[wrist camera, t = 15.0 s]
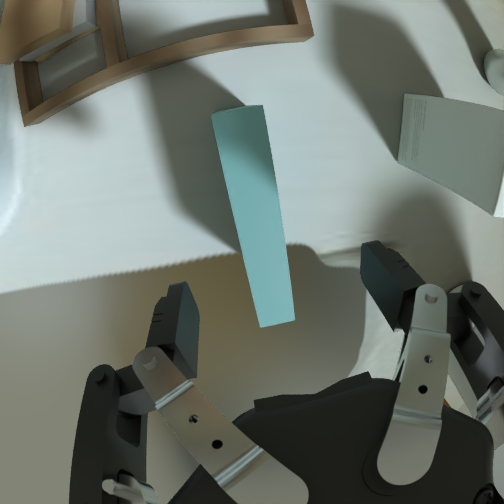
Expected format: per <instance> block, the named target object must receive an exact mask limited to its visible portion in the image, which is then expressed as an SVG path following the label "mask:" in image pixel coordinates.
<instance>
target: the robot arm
mask: <svg viewBox="0 0 504 504" xmlns="http://www.w3.org/2000/svg"><path fill="white" fill-rule="evenodd" d="M360 274H361V279H362V282H363V284H364V285H365V287H366V288H367V290H368V291H369V293H370V295H371V296H372V298H373V299H374V301H375V302H376V304H377V306H378V307H379V309H380V310H381V312H382V314H383V315H384V317H385V319H386V320H387V322H388V323H389V325H390V327H391V328H392V330H393V332H396V331H399V330H402V329H403V331H404V333H405V334H404V337H403V341H402V345H401V350H400V354H399V358H398V362H397V366H396V370H395V373H394V376H393V379H392V380H390V379H384V378H371V376H370V373H369V371H367V372H364V373H361V374H358V375H355V376H352V377H349V378H346V379H343V380H340V381H339V382H337V383H335V384H333V385H331V386H330V387H328V388H326V389H324V390H322V391H320V392H318V393H316V394H305V395H278V396H273V397H268V398H262V399H257V400H254V406H255V408H252V409H250V410H248V411H247V412H245V413H243V414H241V415H240V416H238V417H237V418H236V419H235V420H234V421H233V422H230V421H229V420H228V419H227V418H226V417H225V416H224V415H223V414H222V413H221V412H220V411H219V410H218V409H217V408H216V407H215V406H214V405H213V404H212V403H211V402H210V401H209V400H208V399H207V398H206V397H205V396H204V395H203V394H202V393H201V392H200V391H199V390H198V389H197V388H196V386H195V385H194V384H193V383H192V382H191V381H188V379H190V378H197V361H198V339H199V322H200V317H199V311H198V307H197V305H196V302H195V300H194V298H193V295H192V293H191V290H190V288H189V286H188V284H187V282H186V281H185V282H180V283H175V284H170V285H169V288H168V293H167V296H166V297H161V299H160V300H159V301H158V303H157V304H156V306H155V309H154V313H153V317H152V323H151V325H150V330H149V334H148V338H147V343H146V347H145V349H143V350H141V351H140V352H139V353H138V354H137V355H136V356H135V358H134V360H133V363H132V365H130V366H127V367H124V368H122V369H119V370H116V371H115V370H114V369H113V368H112V367H111V366H110V365H106V364H103V365H99V366H97V367H96V368H94V369H93V370H92V371H91V372H90V374H89V376H88V378H87V382H86V387H85V390H84V395H83V400H82V404H81V409H80V414H79V419H78V425H77V430H76V437H75V443H74V450H73V458H72V467H71V477H70V492H69V504H160V503H159V501H158V496H157V493H156V491H155V489H154V488H153V487H152V486H151V485H150V484H148V483H146V443H147V442H146V441H147V418H148V412H151V411H154V410H158V411H159V413H160V414H161V416H162V417H163V418H164V420H165V421H166V423H167V424H168V425H169V426H170V428H171V429H172V430H173V432H174V433H175V434H176V435H177V437H178V438H179V439H180V441H181V442H182V443H183V444H184V445H185V447H186V448H187V449H188V450H189V451H190V453H191V454H192V455H193V456H194V457H195V458H196V459H197V461H198V462H199V463H200V465H199V466H198V467H197V468H196V470H195V471H194V472H193V474H192V475H191V476H190V477H189V479H188V480H187V481H186V482H185V483H184V485H183V486H182V487H181V488H180V490H179V491H178V492H177V493H176V494H175V495H174V497H173V498H172V499H171V500H170V501H169V502H168V504H504V499H503V498H502V497H501V496H500V494H499V493H498V491H497V490H496V488H495V486H494V482H493V456H494V450H495V449H496V448H498V447H499V446H500V445H502V444H503V443H504V310H503V309H502V308H501V306H500V305H499V304H498V303H497V301H496V300H495V299H494V298H493V296H492V295H491V294H490V293H489V292H488V291H487V289H486V288H485V287H484V286H483V285H481V284H479V283H477V282H473V281H470V282H466V283H465V284H463V286H462V289H461V292H457V293H445V291H444V290H443V289H442V288H440V287H439V286H437V285H434V284H426V283H425V282H424V281H423V279H422V278H421V277H420V276H419V275H418V274H417V273H416V271H415V270H414V269H413V268H412V267H411V266H410V265H409V264H408V263H407V262H406V261H405V259H404V258H403V257H402V256H401V255H400V254H399V253H398V252H396V251H394V250H392V249H390V248H388V249H386V248H385V247H384V246H383V245H382V243H381V242H380V241H378V240H375V241H371V242H366V243H363V244H362V246H361V265H360ZM475 327H476V328H477V329H478V331H479V332H480V334H481V335H482V337H483V338H484V341H485V347H484V346H483V344H482V342H481V341H480V339H479V338H478V336H477V335H476V333H475V332H474V329H475ZM450 349H451V351H452V352H453V354H454V356H455V358H456V359H457V361H458V363H459V365H460V367H461V369H462V370H463V372H464V374H465V376H466V378H467V380H468V382H469V384H470V386H471V388H472V390H473V392H474V394H475V396H476V398H477V400H478V403H477V407H476V411H477V414H476V416H475V419H474V418H471V417H469V416H467V415H465V414H463V413H461V412H459V411H456V410H454V409H452V408H450V407H448V406H446V405H444V404H443V401H444V395H445V389H446V382H447V374H448V365H449V355H450Z"/></svg>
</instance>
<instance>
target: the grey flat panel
mask: <svg viewBox="0 0 504 504" xmlns="http://www.w3.org/2000/svg"><path fill="white" fill-rule="evenodd" d="M96 26H97V25H96V10H95V0H75V5H74V14H73V26H72V33H69V34H67V35H65V36H62V37H60V38H58V39H56V40H54V41H51V42H49V43H47V44H45V45H43V46H41V47H39V48H37V49H36V50H34V51H32V52H30V53H28V54H26V55H25V56H23V57H21V58H19V61H29V62H33V61H34V60H36V59H37V58H39V57H40V56H42V55H43V54H45V53H47V52H48V51H50V50H51V49H53V48H55V47H57V46H58V45H60V44H62V43H64V42H66V41H67V40H69V39H71V38H73V37H75V36H77V35H79V34H81V33H83V32H85V31H87V30H89V29H91V28H94V27H96Z"/></svg>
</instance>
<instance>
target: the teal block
mask: <svg viewBox="0 0 504 504" xmlns="http://www.w3.org/2000/svg"><path fill="white" fill-rule="evenodd" d="M211 120H212V124H213V129H214V133H215V138H216V142H217V147H218V151H219V155H220V160H221V164H222V169H223V173H224V177H225V182H226V186H227V190H228V195H229V199H230V203H231V207H232V212H233V216H234V220H235V224H236V229H237V233H238V237H239V241H240V246H241V250H242V254H243V258H244V262H245V266H246V270H247V275H248V279H249V283H250V287H251V291H252V296H253V300H254V304H255V308H256V312H257V316H258V320H259V324H260V327H266V326H270V325H275V324H279V323H284V322H289V321H293V320H295V316H294V307H293V299H292V290H291V283H290V275H289V267H288V259H287V252H286V244H285V237H284V230H283V223H282V216H281V210H280V203H279V197H278V190H277V184H276V178H275V172H274V166H273V160H272V154H271V148H270V142H269V136H268V131H267V125H266V120H265V115H264V109H263V105H251V106H242V107H237V108H232V109H227V110H222V111H217V112H214V113H213V114H212V115H211Z"/></svg>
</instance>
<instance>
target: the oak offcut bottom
mask: <svg viewBox="0 0 504 504" xmlns="http://www.w3.org/2000/svg"><path fill="white" fill-rule="evenodd" d="M95 10H96V25H97V26H96V27H94V28H91V29H89V30H87V31H85V32H83V33H81V34H79V35H77V36H75V37H73V38H71V39H69V40H67V41H66V42H64V43H62V44H60V45H58V46H57V47H55V48H53V49H51V50H50V51H48V52H47V53H45V54H43V55H42V56H40V57H39V58H37V59H36V60H35V61H37V62H42V61H44V60H45V59H47V58H48V57H50V56H51V55H53V54H55V53H56V52H58V51H59V50H61V49H63V48H64V47H66V46H68V45H69V44H71V43H73V42H75V41H77V40H78V39H80V38H82V37H84V36H86V35H88V34H90V33H92V32H94V31H96V30H98V29H100V23H99V15H98V6H97V0H95Z"/></svg>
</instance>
